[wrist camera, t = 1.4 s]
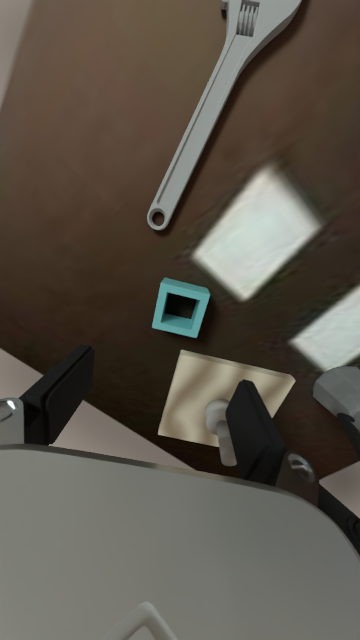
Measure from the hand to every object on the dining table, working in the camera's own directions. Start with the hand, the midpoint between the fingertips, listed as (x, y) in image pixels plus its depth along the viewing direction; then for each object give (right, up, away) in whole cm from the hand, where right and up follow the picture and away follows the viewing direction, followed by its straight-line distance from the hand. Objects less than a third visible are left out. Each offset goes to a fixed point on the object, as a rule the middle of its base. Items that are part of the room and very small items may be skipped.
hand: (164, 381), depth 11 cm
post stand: (+9, -13, +23) cm, 28 cm away
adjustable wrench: (+3, +27, +8) cm, 28 cm away
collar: (+1, +6, +16) cm, 17 cm away
